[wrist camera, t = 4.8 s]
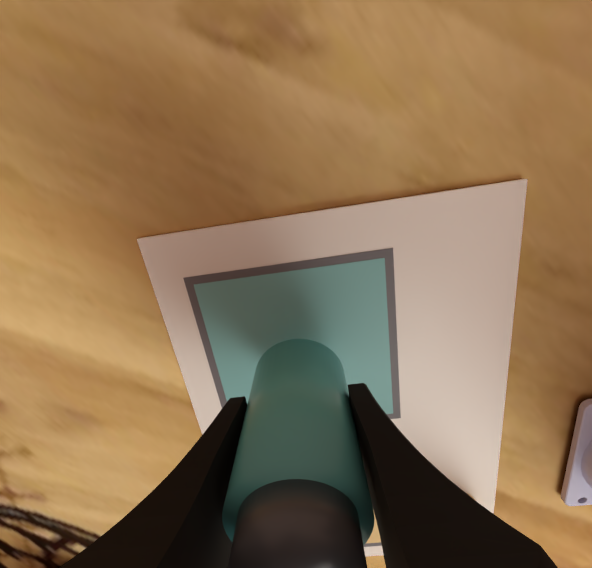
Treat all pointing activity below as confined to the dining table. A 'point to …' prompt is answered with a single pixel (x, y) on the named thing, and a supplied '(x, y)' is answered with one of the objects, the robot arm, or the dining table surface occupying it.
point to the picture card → (362, 312)
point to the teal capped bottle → (298, 467)
